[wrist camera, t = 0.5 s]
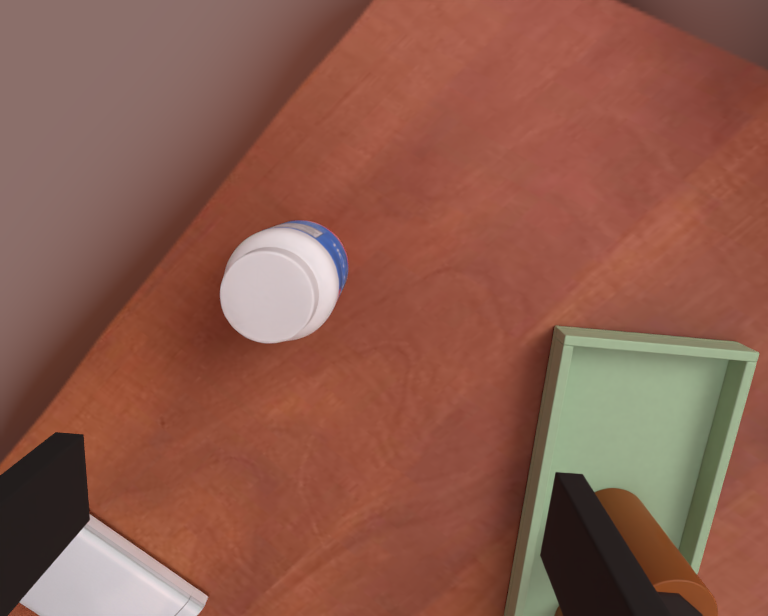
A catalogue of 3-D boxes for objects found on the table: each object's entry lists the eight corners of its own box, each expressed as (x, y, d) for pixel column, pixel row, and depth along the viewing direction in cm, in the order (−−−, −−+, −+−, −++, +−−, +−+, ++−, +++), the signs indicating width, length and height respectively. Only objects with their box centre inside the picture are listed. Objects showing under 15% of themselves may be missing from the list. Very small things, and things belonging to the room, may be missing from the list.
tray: (554, 325, 32) (565, 335, 30) (736, 341, 32) (760, 352, 30) (496, 655, 38) (502, 683, 36) (649, 669, 38) (663, 697, 36)
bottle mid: (581, 484, 34) (669, 630, 23) (651, 490, 34) (774, 639, 23) (568, 544, 35) (648, 711, 24) (637, 550, 35) (747, 720, 24)
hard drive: (-17, 583, 35) (133, 682, 37) (47, 505, 34) (201, 612, 35) (1, 566, 37) (144, 661, 39) (63, 490, 35) (210, 593, 37)
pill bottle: (346, 312, 32) (325, 369, 22) (258, 303, 32) (200, 357, 22) (353, 222, 30) (335, 242, 21) (261, 213, 30) (202, 229, 21)
